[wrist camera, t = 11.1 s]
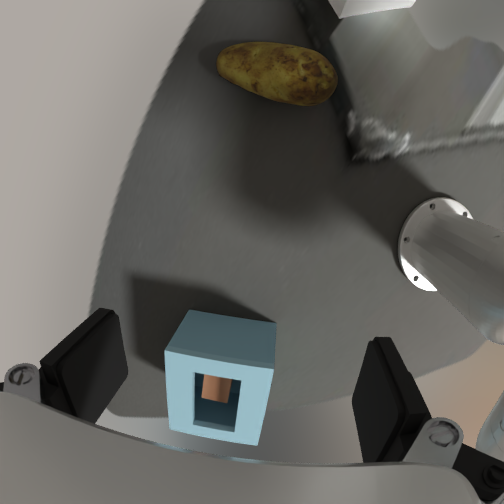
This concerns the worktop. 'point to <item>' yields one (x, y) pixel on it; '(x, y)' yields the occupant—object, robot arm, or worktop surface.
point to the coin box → (220, 375)
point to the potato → (279, 72)
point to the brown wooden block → (216, 388)
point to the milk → (366, 6)
